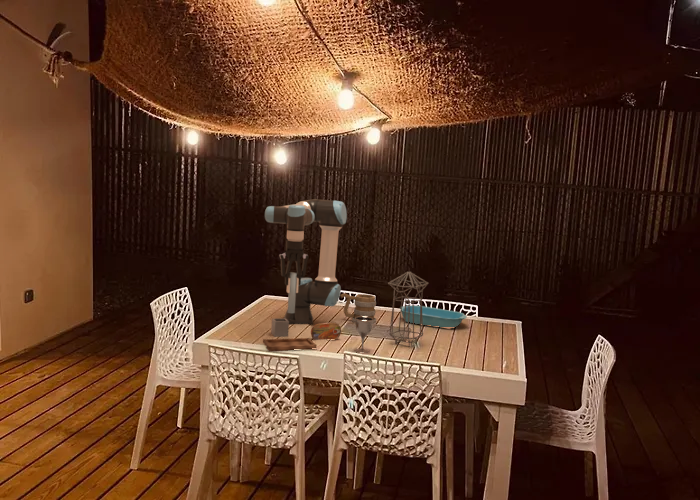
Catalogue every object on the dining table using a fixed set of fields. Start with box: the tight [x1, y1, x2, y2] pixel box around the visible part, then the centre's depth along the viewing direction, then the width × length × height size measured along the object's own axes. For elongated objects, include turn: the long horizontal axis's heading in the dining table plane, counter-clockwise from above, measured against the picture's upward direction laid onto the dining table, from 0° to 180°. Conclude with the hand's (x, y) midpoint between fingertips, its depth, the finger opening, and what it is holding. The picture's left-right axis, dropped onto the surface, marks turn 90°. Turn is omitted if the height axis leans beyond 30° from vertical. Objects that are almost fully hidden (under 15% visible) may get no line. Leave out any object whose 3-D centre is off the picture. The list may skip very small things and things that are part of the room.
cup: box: [270, 317, 290, 338], centre depth 314 cm, size 7×7×8 cm
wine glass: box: [354, 316, 374, 354], centre depth 298 cm, size 8×8×15 cm
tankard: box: [340, 292, 377, 325], centre depth 356 cm, size 20×13×15 cm, turn 88°
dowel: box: [287, 271, 297, 313], centre depth 295 cm, size 3×3×18 cm
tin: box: [310, 322, 342, 341], centre depth 313 cm, size 15×3×8 cm, turn 117°
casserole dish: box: [399, 304, 467, 328], centre depth 362 cm, size 37×22×7 cm, turn 67°
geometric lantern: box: [387, 271, 430, 348], centre depth 314 cm, size 16×16×35 cm
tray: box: [262, 337, 318, 352], centre depth 298 cm, size 22×13×2 cm, turn 110°
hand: (292, 292), depth 295 cm, fingers closed on dowel, 3 cm apart
